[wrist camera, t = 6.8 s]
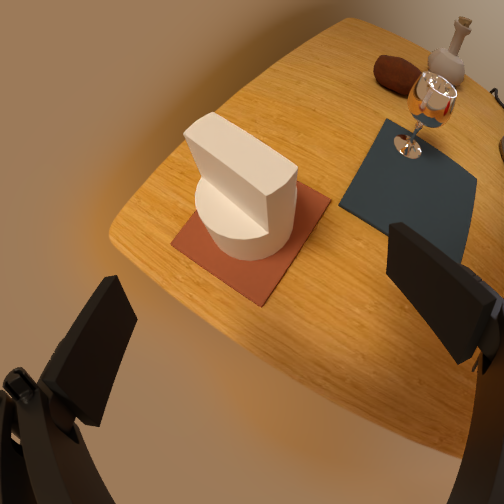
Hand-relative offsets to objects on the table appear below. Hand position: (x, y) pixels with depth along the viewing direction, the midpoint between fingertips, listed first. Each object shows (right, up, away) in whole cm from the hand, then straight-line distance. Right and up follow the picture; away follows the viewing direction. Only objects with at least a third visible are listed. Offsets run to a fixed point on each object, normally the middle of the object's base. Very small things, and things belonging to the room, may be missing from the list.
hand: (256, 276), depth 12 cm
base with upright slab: (0, +4, +17) cm, 18 cm away
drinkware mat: (+21, +9, +17) cm, 29 cm away
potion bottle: (+41, +38, +25) cm, 61 cm away
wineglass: (+21, +16, +19) cm, 32 cm away
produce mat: (0, +4, +17) cm, 18 cm away
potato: (+25, +30, +24) cm, 46 cm away
